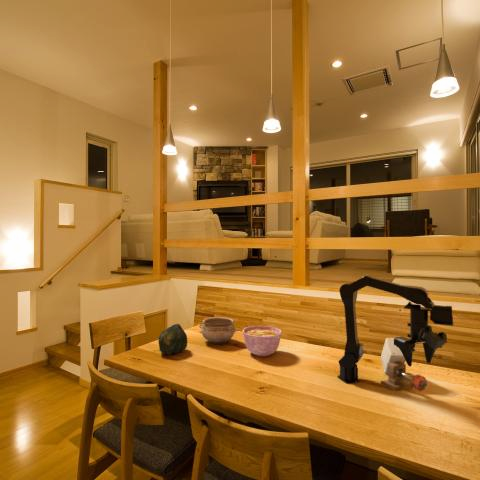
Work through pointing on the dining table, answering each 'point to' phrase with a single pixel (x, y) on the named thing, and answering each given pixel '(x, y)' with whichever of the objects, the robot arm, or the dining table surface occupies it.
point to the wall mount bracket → (396, 376)
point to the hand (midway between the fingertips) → (419, 364)
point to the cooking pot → (218, 329)
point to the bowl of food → (262, 339)
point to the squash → (172, 340)
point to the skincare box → (391, 354)
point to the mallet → (415, 380)
